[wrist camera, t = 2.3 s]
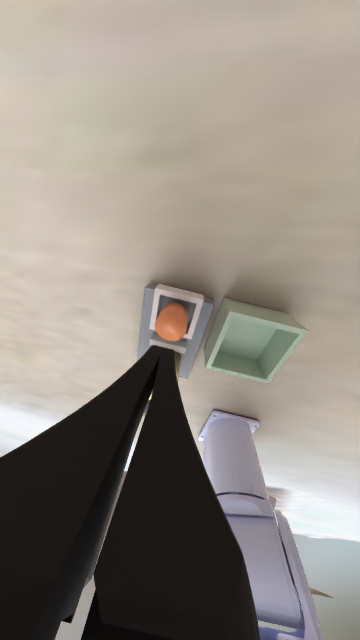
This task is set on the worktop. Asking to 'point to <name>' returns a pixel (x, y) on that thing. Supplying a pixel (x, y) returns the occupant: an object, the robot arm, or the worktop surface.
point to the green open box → (251, 340)
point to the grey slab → (196, 325)
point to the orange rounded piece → (172, 322)
